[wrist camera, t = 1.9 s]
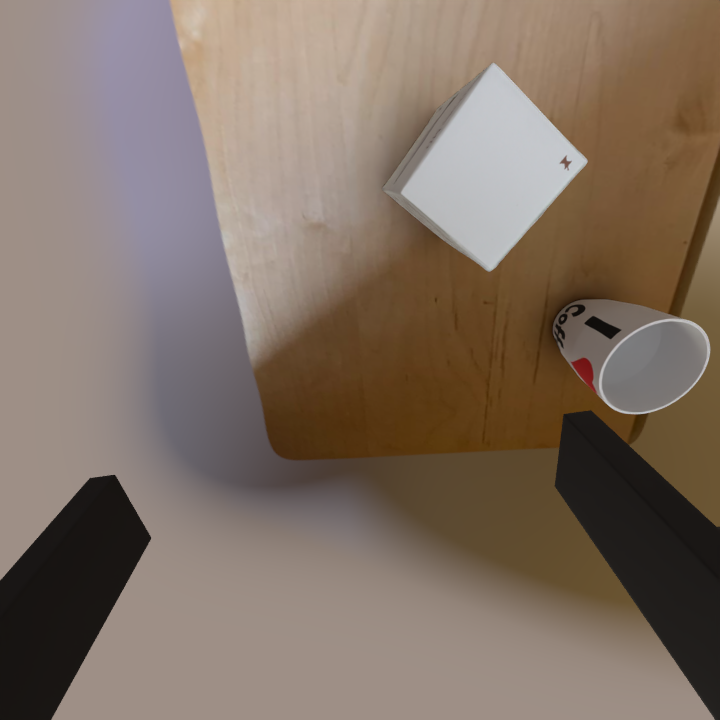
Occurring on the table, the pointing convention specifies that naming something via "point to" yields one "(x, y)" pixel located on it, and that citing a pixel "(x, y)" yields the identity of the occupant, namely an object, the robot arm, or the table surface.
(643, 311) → the cup
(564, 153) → the white packaging box
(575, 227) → the table surface
